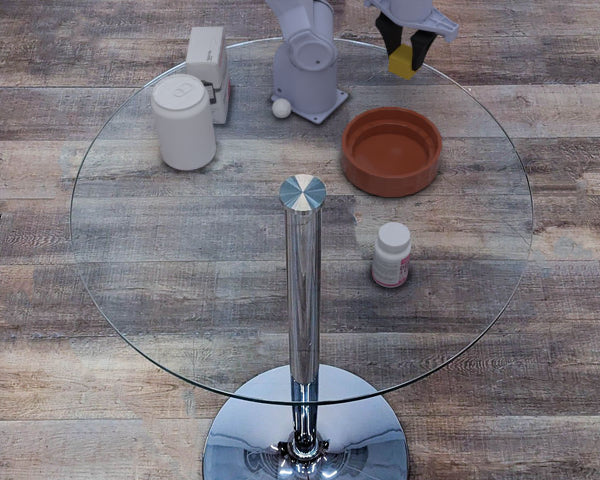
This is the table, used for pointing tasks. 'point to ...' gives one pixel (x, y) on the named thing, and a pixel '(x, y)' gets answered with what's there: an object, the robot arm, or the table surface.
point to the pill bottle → (391, 255)
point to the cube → (402, 62)
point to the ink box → (210, 67)
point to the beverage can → (183, 122)
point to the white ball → (281, 108)
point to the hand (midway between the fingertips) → (405, 61)
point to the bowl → (391, 151)
